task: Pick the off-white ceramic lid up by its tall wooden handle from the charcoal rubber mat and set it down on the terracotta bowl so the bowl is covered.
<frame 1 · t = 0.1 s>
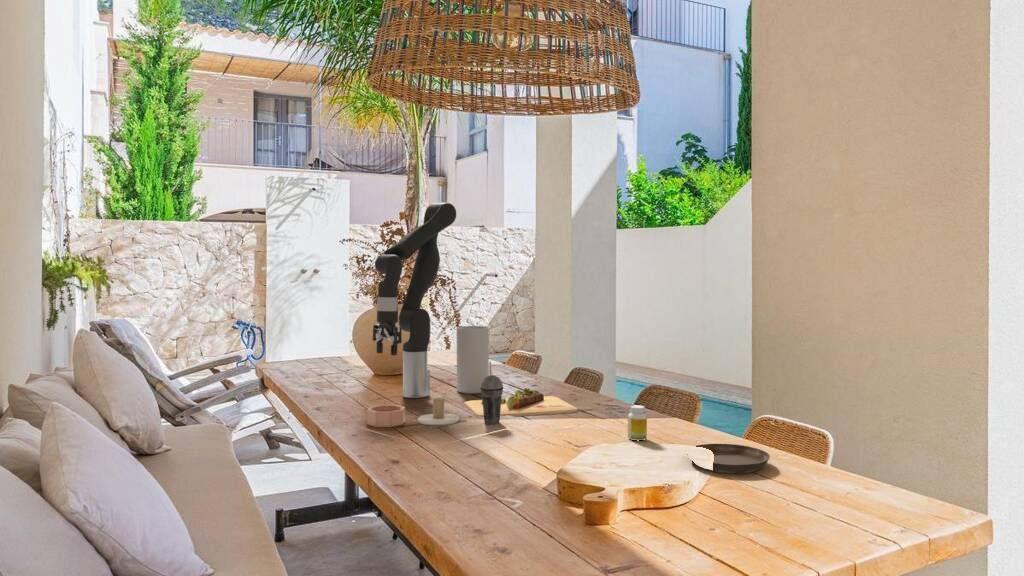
hand: (386, 354, 267), 17 cm above the table, tool pointing down, fingers open, 8 cm apart
supplement bottle: (637, 440, 213), on the table
cutting board: (519, 410, 256), on the table
plant saucer: (726, 466, 188), on the table
bowl: (386, 424, 232), on the table
mat: (438, 422, 234), on the table
beverage cup: (491, 425, 231), on the table
cylinder vase: (472, 391, 288), on the table
lid: (438, 420, 234), point 1 cm above the table, touching mat
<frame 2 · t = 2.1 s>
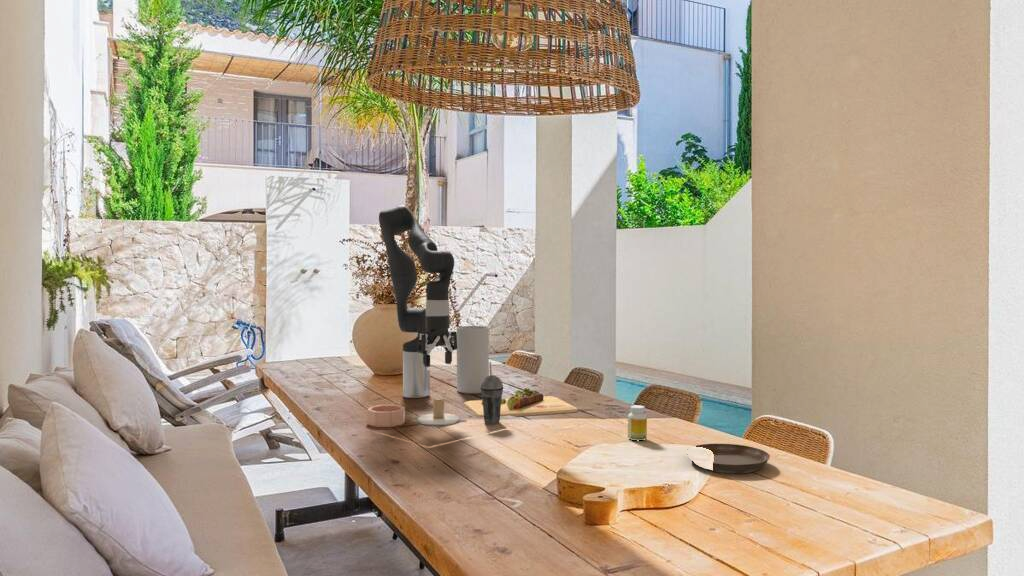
hand: (437, 365, 233), 18 cm above the table, tool pointing down, fingers open, 8 cm apart
nothing on the table moved.
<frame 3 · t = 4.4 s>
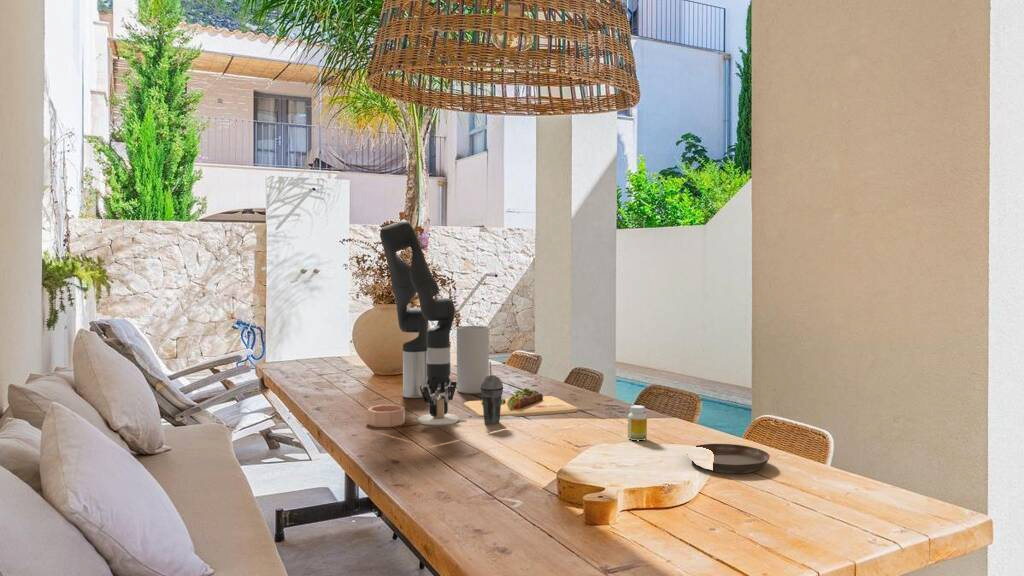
hand: (438, 414, 234), 3 cm above the table, tool pointing down, fingers closed on lid, 3 cm apart
lid: (438, 420, 234), point 1 cm above the table, touching gripper, mat
everything else where it was.
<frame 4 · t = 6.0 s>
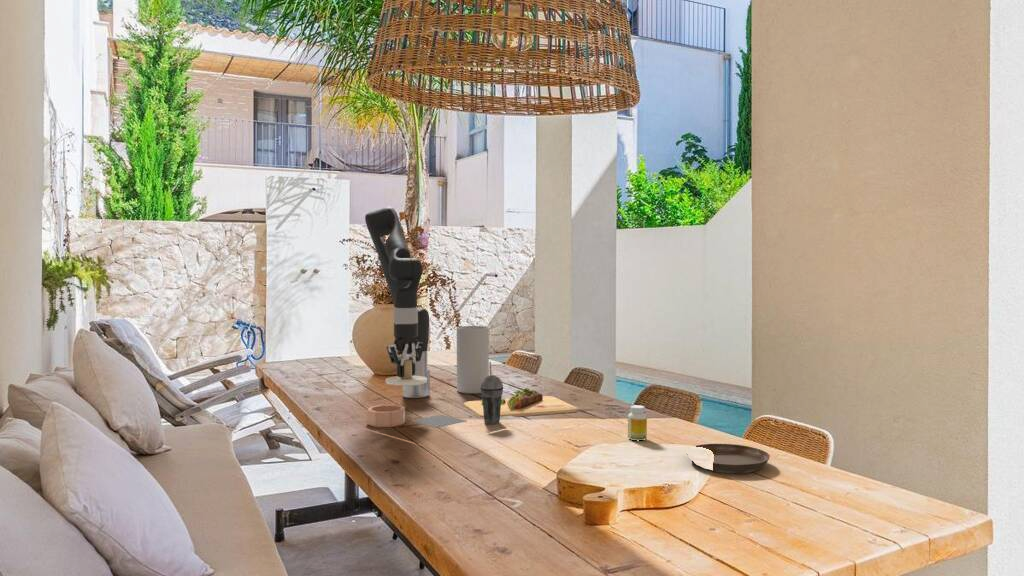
hand: (406, 376, 232), 15 cm above the table, tool pointing down, fingers closed on lid, 3 cm apart
lid: (406, 382, 232), point 13 cm above the table, touching gripper
everything else where it was.
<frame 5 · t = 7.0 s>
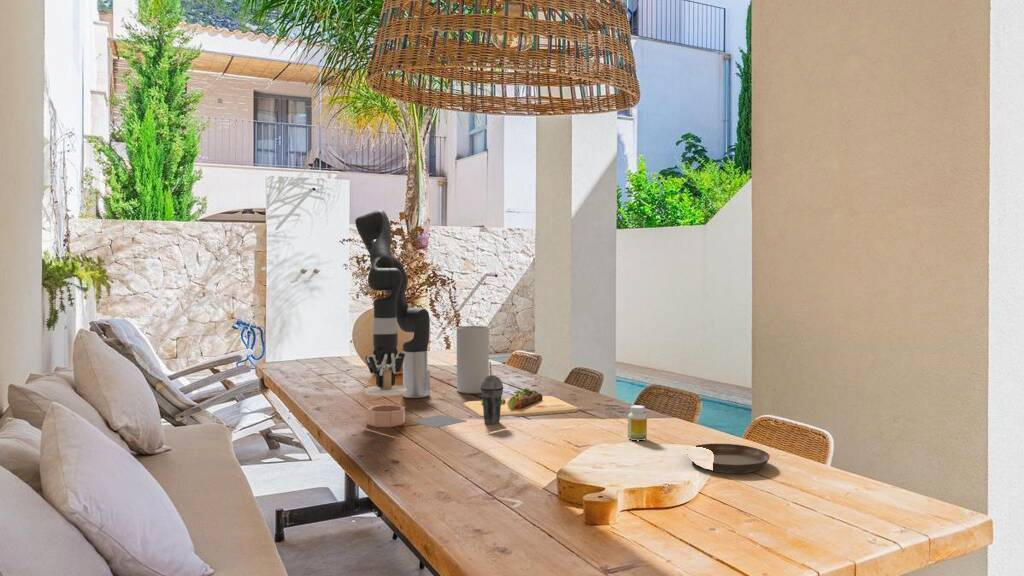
hand: (385, 386, 231), 12 cm above the table, tool pointing down, fingers closed on lid, 3 cm apart
lid: (385, 392, 231), point 10 cm above the table, touching gripper
everything else where it was.
when the fingers open (8 cm above the table, at t = 7.9 s): lid drops 1 cm, resting on bowl.
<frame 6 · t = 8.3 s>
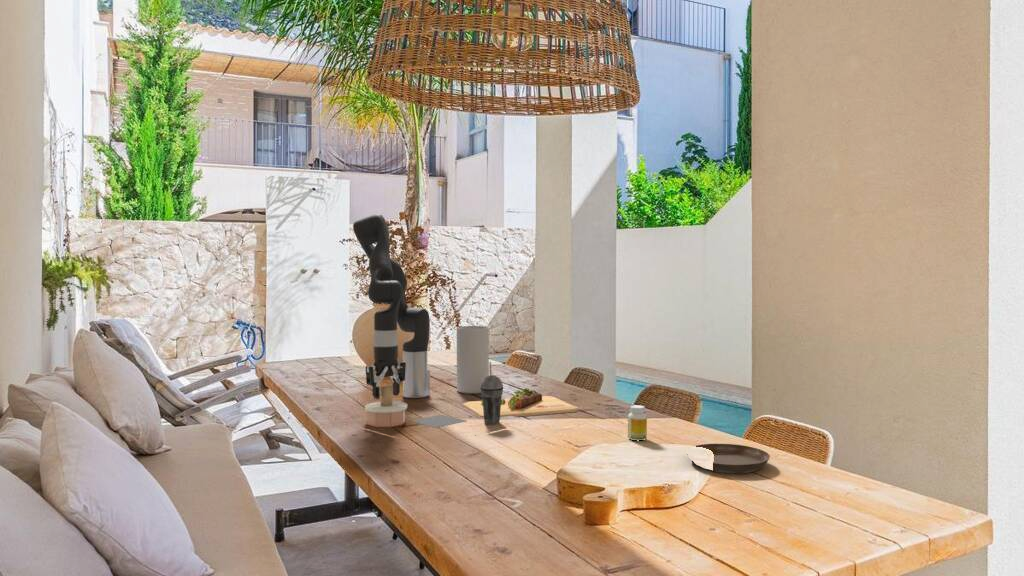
hand: (386, 396, 231), 9 cm above the table, tool pointing down, fingers open, 6 cm apart
lid: (386, 408, 231), point 5 cm above the table, touching bowl
everything else where it was.
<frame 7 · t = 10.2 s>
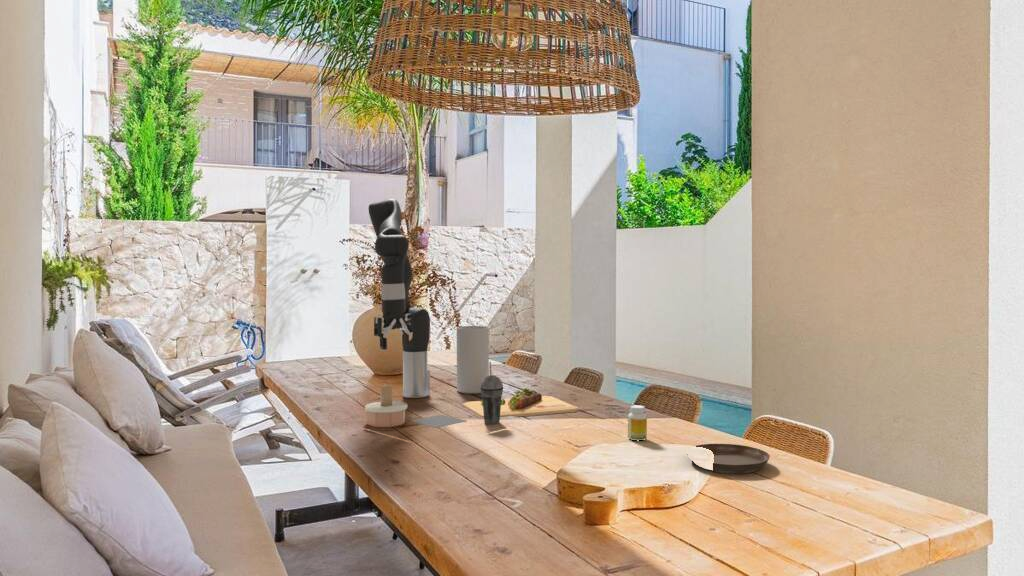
hand: (394, 347, 237), 23 cm above the table, tool pointing down, fingers open, 8 cm apart
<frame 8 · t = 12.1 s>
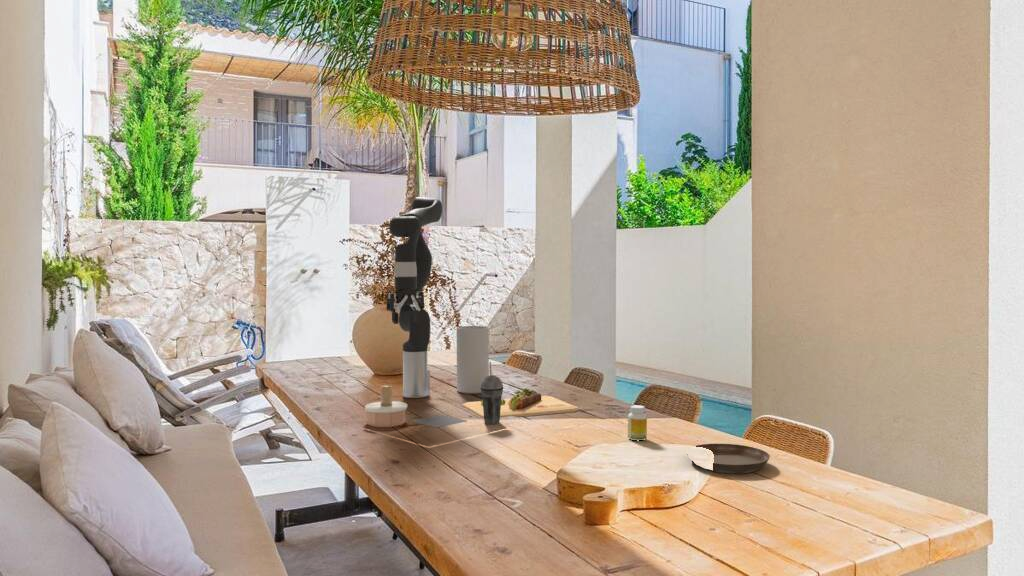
hand: (405, 322, 251), 30 cm above the table, tool pointing down, fingers open, 8 cm apart
at the end: lid 0.1 cm off-centre on the bowl, point 5.0 cm above the bowl's base; lid tilted 0°; the gripper is holding nothing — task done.
